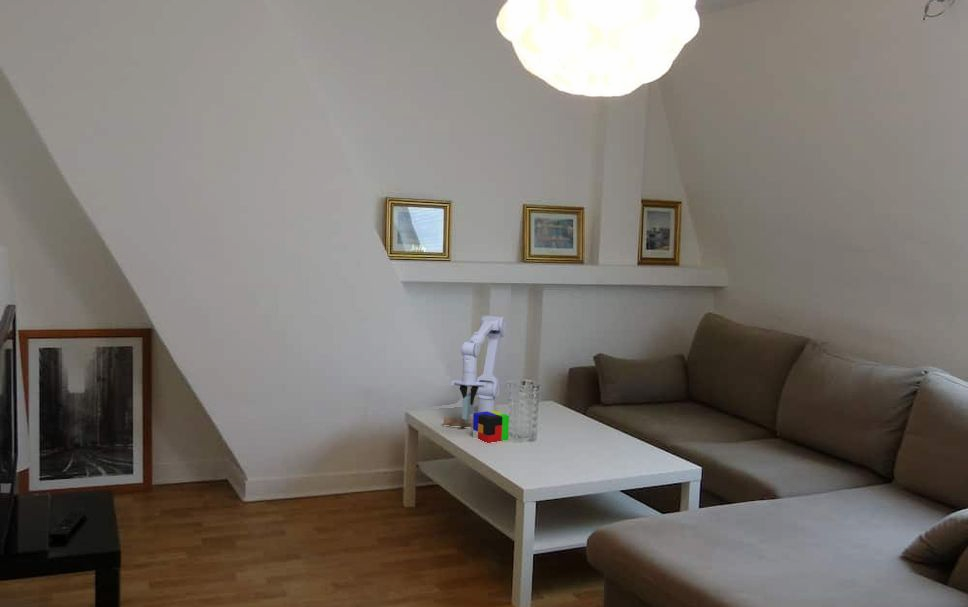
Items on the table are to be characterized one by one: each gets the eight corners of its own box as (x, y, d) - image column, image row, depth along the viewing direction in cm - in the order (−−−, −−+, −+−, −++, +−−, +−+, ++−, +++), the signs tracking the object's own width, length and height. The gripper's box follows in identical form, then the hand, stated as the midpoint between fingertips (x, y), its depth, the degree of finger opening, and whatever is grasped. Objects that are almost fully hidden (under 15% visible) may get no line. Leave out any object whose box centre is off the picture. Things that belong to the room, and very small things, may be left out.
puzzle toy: (472, 437, 361) (473, 413, 360) (492, 434, 367) (493, 410, 366) (487, 444, 353) (488, 418, 352) (508, 440, 359) (509, 415, 358)
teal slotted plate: (466, 419, 368) (467, 399, 367) (462, 418, 368) (462, 399, 367) (473, 411, 382) (474, 392, 381) (469, 411, 382) (469, 392, 381)
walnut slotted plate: (443, 426, 377) (443, 418, 376) (444, 425, 379) (444, 417, 378) (491, 430, 373) (491, 422, 373) (492, 429, 375) (492, 420, 375)
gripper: (450, 371, 371) (449, 404, 372) (485, 374, 368) (484, 407, 370) (453, 368, 378) (452, 401, 379) (488, 371, 375) (487, 403, 377)
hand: (468, 403), depth 375 cm, fingers closed on teal slotted plate, 2 cm apart
